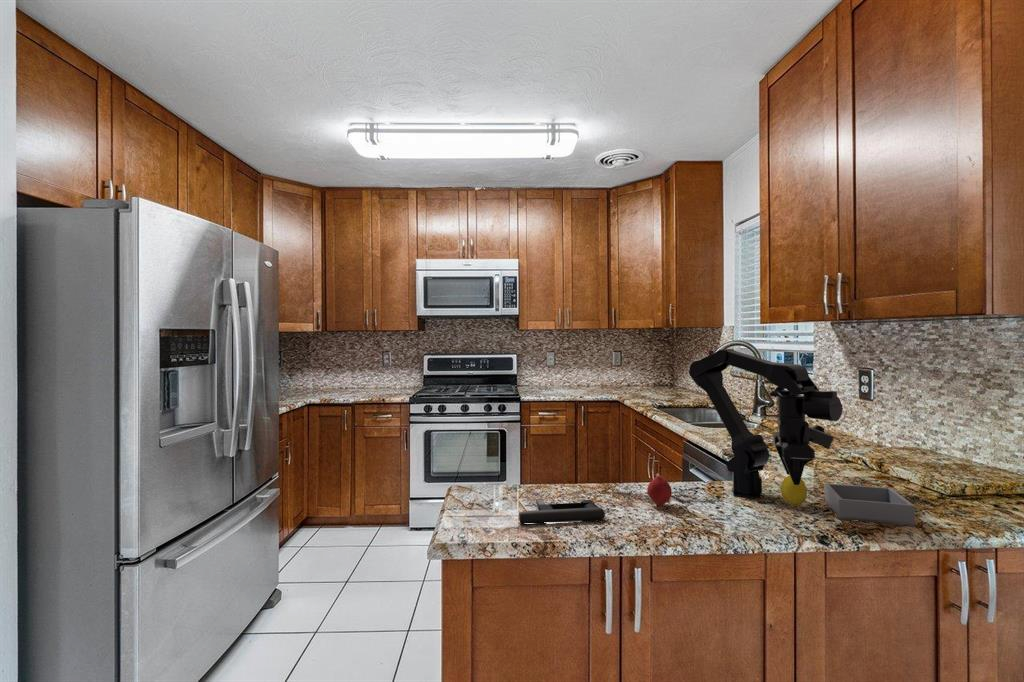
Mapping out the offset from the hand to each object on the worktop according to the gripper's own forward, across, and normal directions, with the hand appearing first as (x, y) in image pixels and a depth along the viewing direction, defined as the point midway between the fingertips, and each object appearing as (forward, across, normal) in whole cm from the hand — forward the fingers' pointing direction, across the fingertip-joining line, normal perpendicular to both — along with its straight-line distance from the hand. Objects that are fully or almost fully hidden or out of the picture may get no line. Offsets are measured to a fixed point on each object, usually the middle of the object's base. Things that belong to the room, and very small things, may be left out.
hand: (792, 479), depth 121 cm
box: (+7, 0, -15) cm, 16 cm away
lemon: (+7, 0, 0) cm, 7 cm away
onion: (+7, -9, +31) cm, 33 cm away
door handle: (+8, -22, +54) cm, 58 cm away
